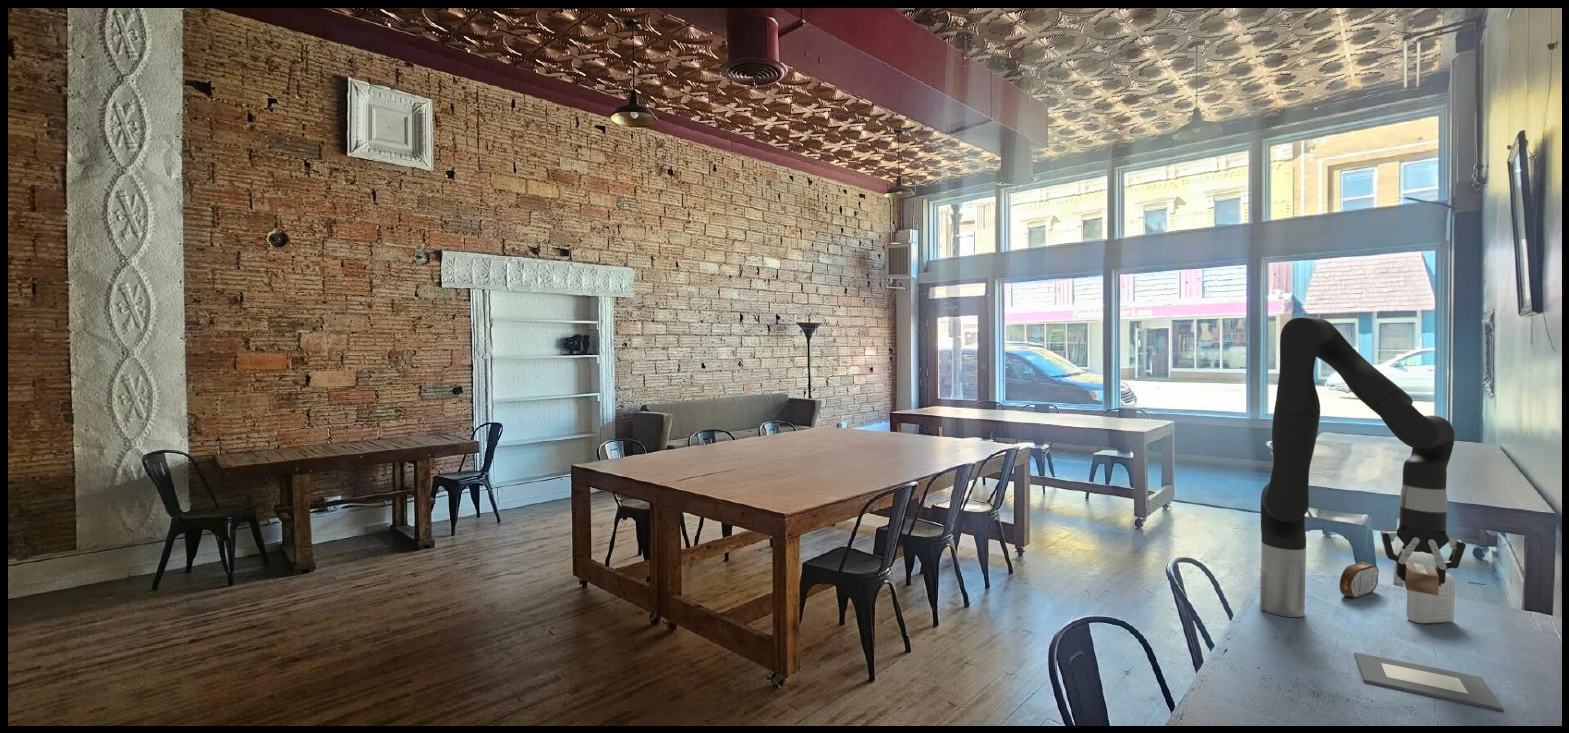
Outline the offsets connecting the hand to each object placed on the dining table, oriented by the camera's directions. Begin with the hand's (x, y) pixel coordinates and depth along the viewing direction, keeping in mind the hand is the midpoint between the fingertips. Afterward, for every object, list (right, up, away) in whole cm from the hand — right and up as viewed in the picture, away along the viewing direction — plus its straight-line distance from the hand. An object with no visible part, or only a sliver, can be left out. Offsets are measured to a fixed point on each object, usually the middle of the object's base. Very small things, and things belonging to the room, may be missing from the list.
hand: (1420, 581), depth 150 cm
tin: (+15, -15, +34) cm, 40 cm away
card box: (0, -1, 0) cm, 1 cm away
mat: (-10, -17, -11) cm, 23 cm away
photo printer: (+19, -15, +17) cm, 30 cm away
